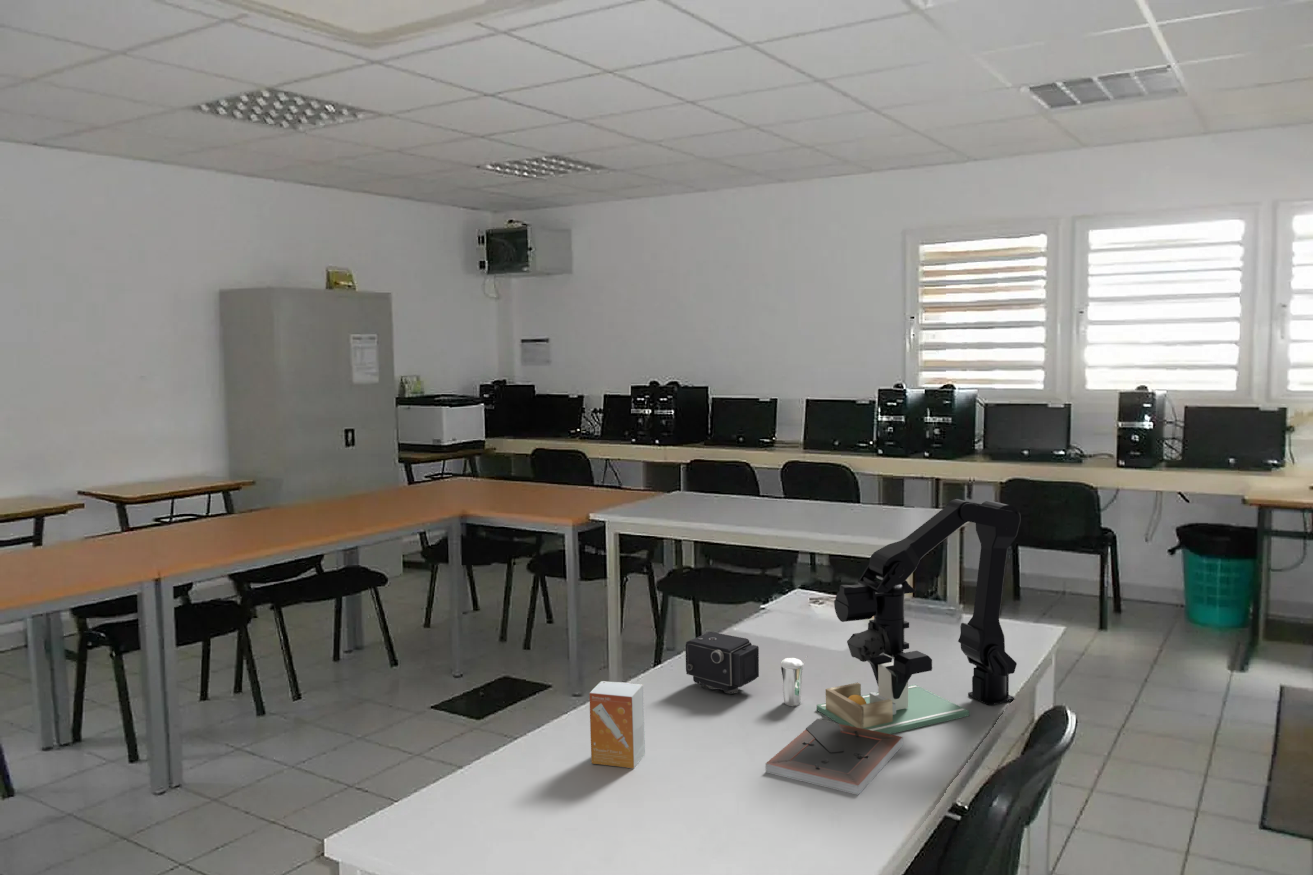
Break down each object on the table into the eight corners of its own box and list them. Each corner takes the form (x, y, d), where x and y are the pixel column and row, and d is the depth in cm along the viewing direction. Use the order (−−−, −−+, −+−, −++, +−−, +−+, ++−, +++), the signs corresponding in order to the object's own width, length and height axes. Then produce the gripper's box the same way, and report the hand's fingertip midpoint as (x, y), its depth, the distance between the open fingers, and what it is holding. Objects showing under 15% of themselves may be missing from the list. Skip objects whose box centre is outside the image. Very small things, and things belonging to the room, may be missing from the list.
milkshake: (807, 708, 187) (806, 659, 186) (780, 706, 188) (779, 658, 188) (808, 699, 192) (807, 651, 191) (781, 698, 193) (781, 650, 192)
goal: (857, 702, 187) (857, 682, 187) (892, 721, 177) (892, 700, 177) (825, 708, 184) (825, 688, 184) (859, 729, 174) (859, 708, 174)
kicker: (890, 698, 188) (890, 659, 187) (913, 710, 181) (912, 669, 181) (869, 702, 186) (869, 663, 185) (891, 715, 179) (891, 674, 179)
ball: (838, 710, 181) (855, 713, 183) (851, 717, 177) (867, 720, 179) (844, 690, 181) (860, 693, 183) (856, 697, 178) (873, 700, 179)
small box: (590, 764, 165) (588, 692, 164) (603, 749, 171) (601, 679, 170) (634, 769, 162) (632, 696, 161) (646, 754, 169) (643, 683, 167)
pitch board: (915, 689, 196) (915, 684, 196) (969, 715, 181) (969, 710, 181) (816, 709, 186) (816, 704, 186) (865, 739, 172) (865, 733, 172)
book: (817, 731, 178) (765, 776, 160) (817, 718, 178) (765, 762, 160) (903, 749, 169) (858, 799, 151) (902, 735, 169) (858, 784, 151)
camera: (682, 695, 200) (741, 702, 190) (676, 642, 199) (734, 647, 190) (711, 679, 208) (769, 686, 198) (705, 628, 207) (763, 633, 198)
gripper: (826, 610, 187) (827, 686, 189) (884, 635, 170) (884, 719, 171) (872, 602, 191) (873, 677, 193) (934, 626, 174) (934, 708, 176)
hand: (889, 695), depth 183 cm, fingers closed on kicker, 4 cm apart
